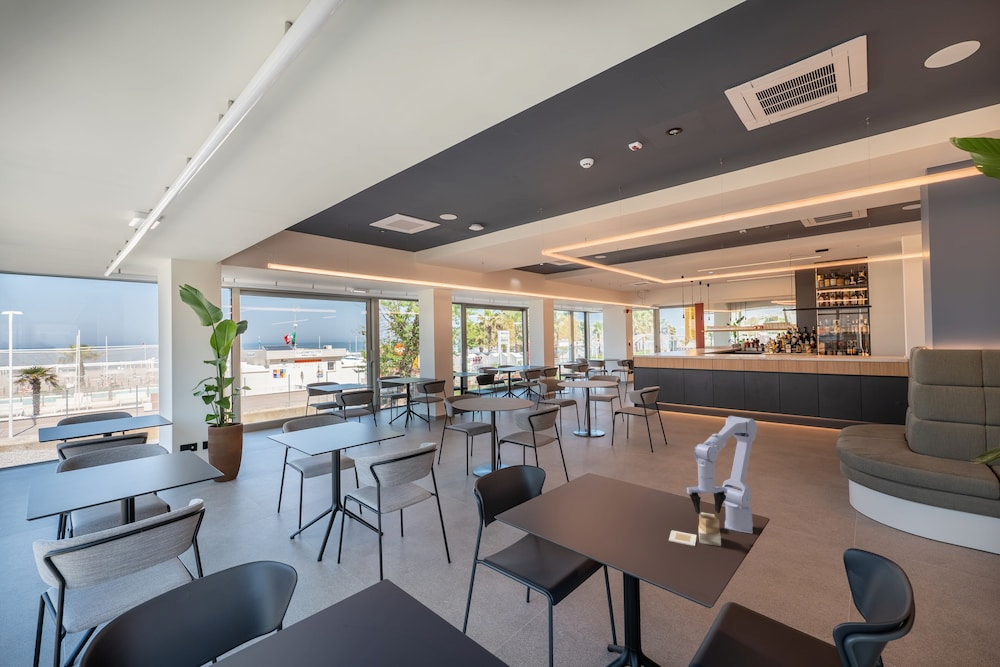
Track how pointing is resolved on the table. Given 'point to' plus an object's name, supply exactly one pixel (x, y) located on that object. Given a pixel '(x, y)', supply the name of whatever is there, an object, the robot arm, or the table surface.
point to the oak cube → (709, 523)
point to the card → (682, 538)
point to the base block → (709, 538)
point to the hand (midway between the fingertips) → (707, 512)
